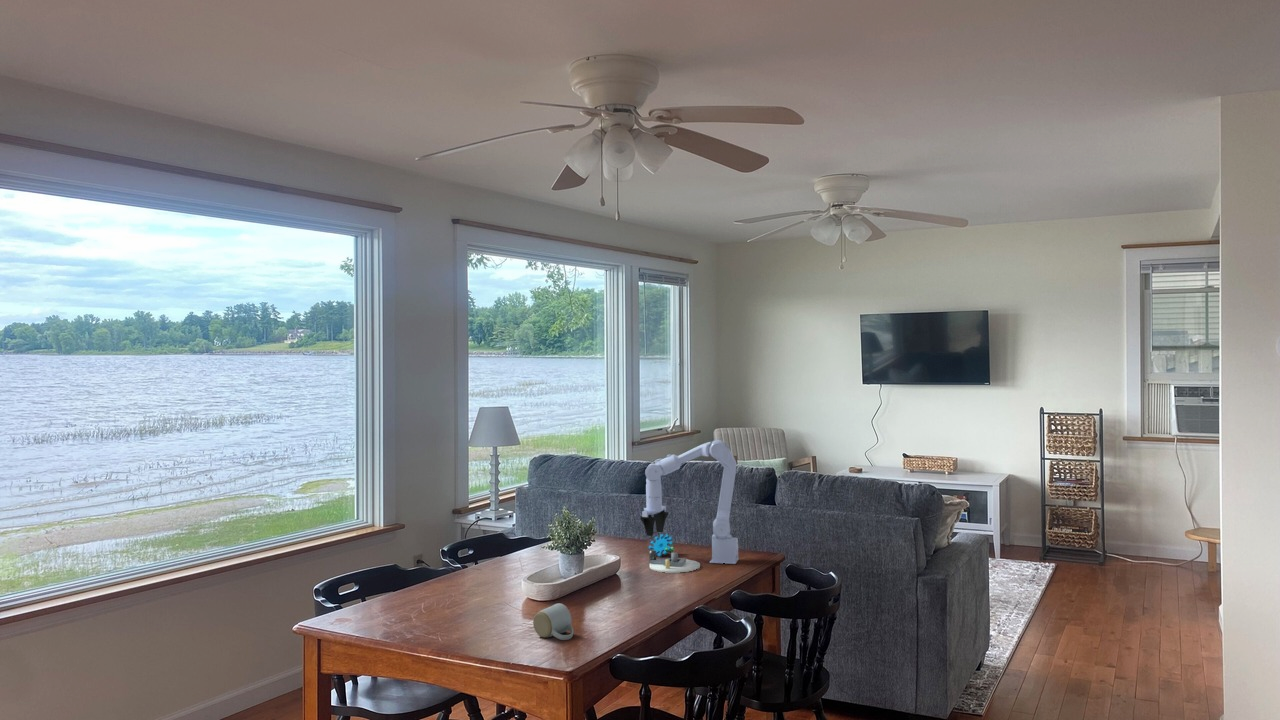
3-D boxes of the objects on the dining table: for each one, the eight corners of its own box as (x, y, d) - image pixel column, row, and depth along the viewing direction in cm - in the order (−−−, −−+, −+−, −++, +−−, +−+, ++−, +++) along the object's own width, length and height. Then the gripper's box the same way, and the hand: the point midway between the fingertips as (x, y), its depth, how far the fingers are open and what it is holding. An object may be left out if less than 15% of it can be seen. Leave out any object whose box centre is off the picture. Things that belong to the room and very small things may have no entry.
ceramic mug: (531, 636, 233) (530, 607, 233) (552, 628, 239) (552, 600, 239) (559, 644, 226) (559, 614, 226) (581, 636, 233) (580, 607, 233)
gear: (643, 550, 331) (657, 530, 335) (649, 559, 334) (663, 539, 339) (664, 559, 323) (678, 537, 327) (670, 568, 326) (685, 546, 331)
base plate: (704, 562, 316) (704, 548, 316) (694, 574, 299) (694, 559, 299) (656, 560, 321) (656, 547, 321) (643, 572, 304) (643, 557, 304)
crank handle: (686, 561, 312) (685, 550, 312) (682, 566, 306) (681, 554, 306) (652, 560, 316) (651, 548, 316) (647, 564, 309) (647, 552, 309)
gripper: (654, 493, 328) (654, 529, 328) (634, 498, 316) (635, 536, 316) (670, 494, 325) (671, 530, 325) (651, 500, 312) (652, 537, 312)
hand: (654, 533), depth 320 cm, fingers open, 7 cm apart
